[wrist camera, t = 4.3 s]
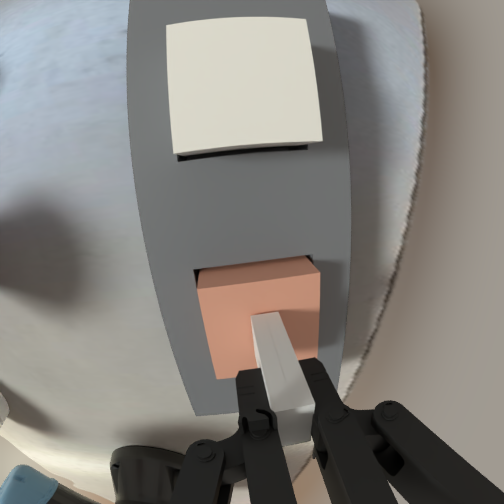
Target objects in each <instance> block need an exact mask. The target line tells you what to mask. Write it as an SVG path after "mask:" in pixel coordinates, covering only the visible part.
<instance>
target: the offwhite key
mask: <svg viewBox="0 0 504 504" xmlns="http://www.w3.org/2000/svg"><path fill="white" fill-rule="evenodd" d="M166 46H167V75H168V94H169V109H170V122H171V133H172V144H173V154H177V155H181V156H190V155H197V154H205V153H213V152H221V151H231V150H241V149H252V148H266V147H282V146H299V145H304V144H310V143H315V142H321V141H323V139H322V128H321V117H320V108H319V99H318V91H317V83H316V76H315V69H314V62H313V56H312V50H311V44H310V38H309V33H308V27H307V22H306V19H298V18H284V17H231V18H216V19H206V20H197V21H189V22H182V23H176V24H170V25H166Z"/></svg>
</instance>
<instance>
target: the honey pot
mask: <svg viewBox="0 0 504 504" xmlns="http://www.w3.org/2000/svg"><path fill="white" fill-rule="evenodd" d="M8 414H9V406H8V403H7V402H6V400H5V398H4V396H3V395H2V394H1V392H0V428H1V425H2V424H3V423H4V421H5V419H6V417H7V415H8Z"/></svg>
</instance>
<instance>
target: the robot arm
mask: <svg viewBox="0 0 504 504" xmlns="http://www.w3.org/2000/svg"><path fill="white" fill-rule="evenodd" d="M251 324H252V333H253V342H254V351H255V357H256V362H257V367H258V368H255V369H248V370H240V371H239V372H238V374H237V376H236V378H235V381H236V390H237V399H238V408H239V419H238V425H239V429H238V430H237V432H236V433H235V434H234V435H233V436H231V437H229V438H227V439H224V440H222V441H219V442H216V441H213V440H209V439H206V440H199V441H196V442H194V443H193V444H192V445H190V447H189V448H188V450H187V452H186V455H185V456H184V455H181V454H178V453H175V452H171V451H167V450H163V449H157V448H151V447H141V446H128V447H122V448H118V449H116V450H115V451H114V452H113V453H112V457H111V462H110V470H111V476H112V481H113V486H114V491H115V495H116V502H115V504H230V502H231V497H232V492H233V487H234V483H235V482H238V481H241V480H243V479H246V478H247V482H248V489H249V495H250V502H251V504H297V502H296V498H295V494H294V491H293V487H292V483H291V479H290V475H289V471H288V467H287V463H286V460H285V456H284V452H283V448H282V447H284V446H289V445H294V444H299V443H303V442H307V441H311V435H312V438H313V441H314V449H313V454H312V456H313V459H315V457H316V459H317V462H318V464H319V467H320V471H321V473H322V476H323V479H324V482H325V485H326V488H327V491H328V494H329V497H330V500H331V503H332V504H398V502H397V500H396V498H395V496H394V494H393V492H392V490H391V488H390V486H389V483H390V484H391V485H392V486H393V487H394V488H395V489H396V490H397V491H398V492H399V493H400V494H401V495H402V496H403V498H404V499H405V500H406V501H407V502H408V503H409V504H504V493H503V492H502V491H501V490H500V489H499V488H498V487H496V486H495V485H494V484H493V483H492V482H490V481H489V480H488V479H487V478H486V477H484V476H483V475H482V474H481V473H480V472H479V471H477V470H476V469H475V468H474V467H473V466H471V465H470V464H469V463H468V462H467V461H466V460H464V459H463V458H462V457H461V456H460V455H458V454H457V453H456V452H455V451H454V450H453V449H452V448H451V447H449V446H448V445H447V444H446V443H445V442H444V441H443V440H441V439H440V438H439V437H438V436H437V435H436V434H434V433H433V432H432V431H431V430H430V429H429V428H428V427H426V426H425V425H424V424H423V423H422V422H421V421H420V420H418V419H417V418H416V417H415V416H414V415H413V414H412V413H411V412H409V411H408V410H407V409H406V408H405V407H404V406H403V405H401V404H400V403H398V402H396V401H391V400H390V401H384V402H381V403H379V404H378V405H377V406H376V407H375V409H374V410H354V409H351V408H349V407H348V406H346V405H344V404H343V402H342V401H341V399H340V397H339V395H338V393H337V391H336V389H335V387H334V385H333V383H332V381H331V379H330V377H329V375H328V373H327V372H326V369H325V367H324V365H323V363H322V362H320V361H319V360H318V359H317V358H315V357H313V358H308V359H303V360H298V359H297V357H296V354H295V352H294V349H293V347H292V344H291V342H290V339H289V337H288V334H287V332H286V329H285V327H284V325H283V322H282V320H281V317H280V315H279V312H272V313H265V314H258V315H251ZM387 480H388V481H389V483H388V481H387ZM0 504H101V503H98V502H96V501H94V500H91V499H89V498H87V497H85V496H83V495H81V494H79V493H77V492H75V491H73V490H71V489H69V488H67V487H65V486H64V485H62V484H60V483H58V481H56V480H55V479H54V478H49V477H47V476H46V475H44V474H42V473H40V472H39V471H37V470H35V469H34V468H32V467H30V466H28V465H18V466H16V467H15V468H14V469H13V470H12V471H11V472H10V474H9V475H8V477H7V478H6V480H5V481H4V483H3V484H2V486H1V487H0Z"/></svg>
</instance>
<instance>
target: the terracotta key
mask: <svg viewBox="0 0 504 504" xmlns="http://www.w3.org/2000/svg"><path fill="white" fill-rule="evenodd" d="M197 292H198V298H199V303H200V308H201V313H202V317H203V322H204V327H205V331H206V336H207V341H208V345H209V349H210V354H211V358H212V362H213V366H214V370H215V375H216V379H226V378H234V377H236V376H237V374H238V372H239V371H240V370H248V369H255V368H258V367H257V362H256V357H255V351H254V342H253V333H252V324H251V315H258V314H265V313H272V312H279V315H280V317H281V320H282V322H283V325H284V327H285V329H286V332H287V334H288V337H289V339H290V342H291V344H292V347H293V349H294V352H295V354H296V357H297V359H298V360H303V359H308V358H313V357H315V358H317V355H318V337H319V312H320V272H319V271H318V269H317V268H316V267H315V266H314V265H313V264H312V263H311V262H310V261H309V259H308V258H307V257H306V256H305V255H302V256H295V257H287V258H279V259H272V260H264V261H256V262H248V263H241V264H233V265H225V266H217V267H209V268H201V269H200V271H199V278H198V285H197Z"/></svg>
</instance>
